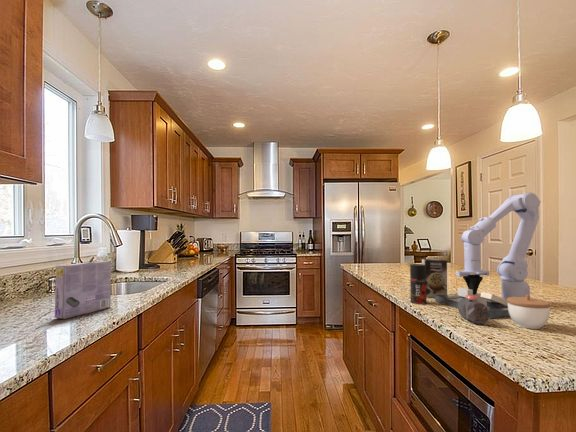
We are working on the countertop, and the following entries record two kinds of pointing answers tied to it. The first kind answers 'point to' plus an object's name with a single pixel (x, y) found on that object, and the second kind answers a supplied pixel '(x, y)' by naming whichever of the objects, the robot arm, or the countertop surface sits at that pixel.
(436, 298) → the panel
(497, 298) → the beige rectangular block
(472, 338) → the countertop surface
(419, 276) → the deodorant
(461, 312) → the perforated stone tool
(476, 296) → the button
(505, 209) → the robot arm
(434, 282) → the coffee box
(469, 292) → the fader knob
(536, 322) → the lidded jar
